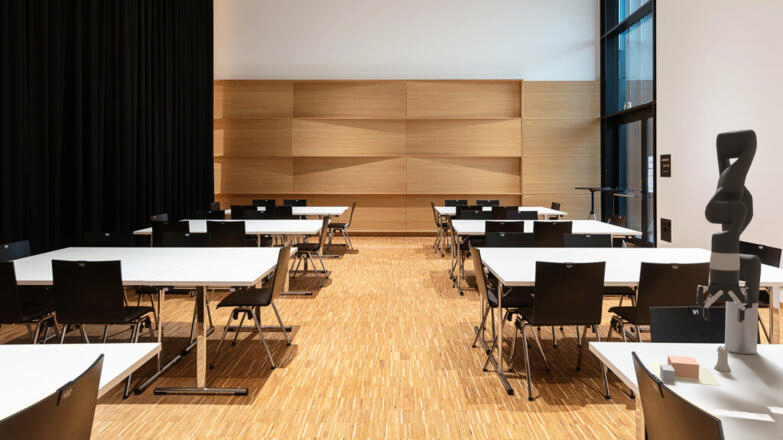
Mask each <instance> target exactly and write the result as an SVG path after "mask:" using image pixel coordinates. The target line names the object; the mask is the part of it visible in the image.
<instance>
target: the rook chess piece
mask: <svg viewBox="0 0 783 440" xmlns="http://www.w3.org/2000/svg"><path fill="white" fill-rule="evenodd" d="M716 351H717V352H718V353H717V360H716V361H717V362H716V364H715V365H714V367H713V368H714V370H716V371H719V372H723V373H728V372H731V371H732V369H731V368H730V366H729V360H728V357H729V355H728V354H729V353H730V351H729V350H728V347H726V348H725V345H724V346H722V345H720V346H717V349H716Z"/></svg>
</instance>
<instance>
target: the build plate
mask: <svg viewBox="0 0 783 440" xmlns="http://www.w3.org/2000/svg"><path fill="white" fill-rule="evenodd" d="M648 363H649V365H650V367H651V369H652V371H653V373H654V376H655V375H656V376H657V377H658V378H659V379H661V380H660V381H664V382H665V381H666V380H663V379H662V377H661V375H660V364H662V365H668V363H662V362H648ZM656 376H655V377H656ZM666 382H667V381H666ZM674 382H678V383H687V384H688V383H689V384H699V385H708V386H719V387H721V386H722V385H721V384H720V383H719V381H718V380H717V378H716V377H715V376H714V375H713V374H712V372H711V371H710V369H709V368H708V367H707V366H700V365H699V378H689V377H678V376H675V381H674Z"/></svg>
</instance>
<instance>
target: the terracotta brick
mask: <svg viewBox="0 0 783 440" xmlns="http://www.w3.org/2000/svg"><path fill="white" fill-rule="evenodd" d="M667 364H668V365H672V367H673V368H674V370H675V376H678V377H689V378H699V366H700V364H699V362H698V361H697V360H696V358H695V357H694V356H681V355H669V354H668V355H667Z"/></svg>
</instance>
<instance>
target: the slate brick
mask: <svg viewBox="0 0 783 440" xmlns="http://www.w3.org/2000/svg"><path fill="white" fill-rule="evenodd" d="M660 375H661V377H662V379H663V380H662V381H664V380H666V382H675V370H674V368H673V367H672V365H662V364H660Z"/></svg>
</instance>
